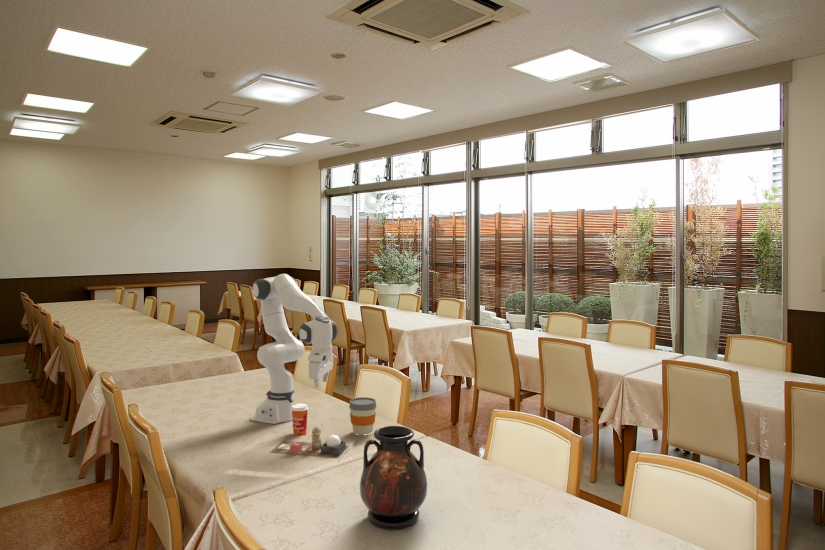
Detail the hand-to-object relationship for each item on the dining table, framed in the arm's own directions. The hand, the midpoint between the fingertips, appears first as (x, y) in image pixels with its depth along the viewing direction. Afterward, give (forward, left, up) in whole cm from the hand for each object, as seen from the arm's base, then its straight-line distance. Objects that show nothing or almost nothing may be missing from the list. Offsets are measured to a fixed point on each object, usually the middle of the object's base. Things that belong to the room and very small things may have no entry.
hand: (321, 384), depth 238 cm
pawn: (+3, -15, -24) cm, 28 cm away
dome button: (+11, -15, -23) cm, 29 cm away
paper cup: (-12, +3, -26) cm, 28 cm away
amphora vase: (+47, -61, -26) cm, 81 cm away
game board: (0, -15, -25) cm, 29 cm away
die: (-4, -19, -24) cm, 31 cm away
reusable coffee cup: (+15, +13, -26) cm, 33 cm away
